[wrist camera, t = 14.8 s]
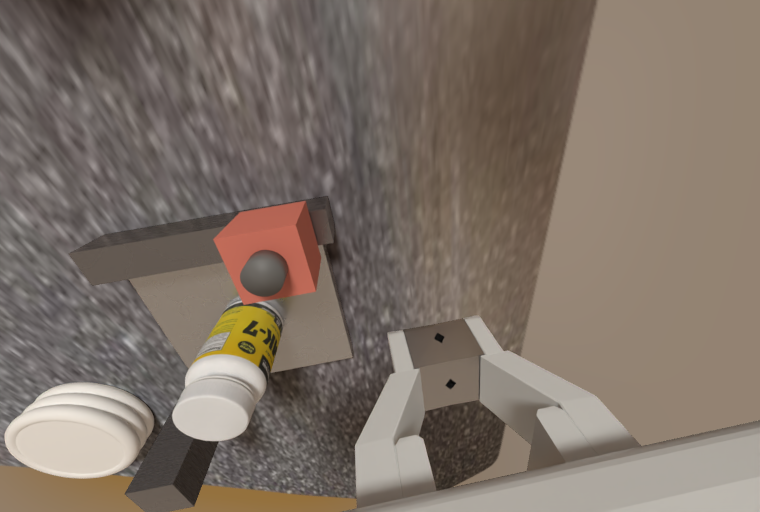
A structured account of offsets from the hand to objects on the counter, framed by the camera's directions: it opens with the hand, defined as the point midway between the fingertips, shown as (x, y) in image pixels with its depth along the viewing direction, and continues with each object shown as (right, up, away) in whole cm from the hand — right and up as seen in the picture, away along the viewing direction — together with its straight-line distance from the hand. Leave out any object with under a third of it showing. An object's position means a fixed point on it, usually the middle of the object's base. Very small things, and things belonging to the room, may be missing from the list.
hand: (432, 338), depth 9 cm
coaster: (-30, -13, +19) cm, 38 cm away
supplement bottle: (-12, -2, +14) cm, 19 cm away
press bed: (-12, -2, +15) cm, 20 cm away
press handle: (-8, +4, +9) cm, 13 cm away
